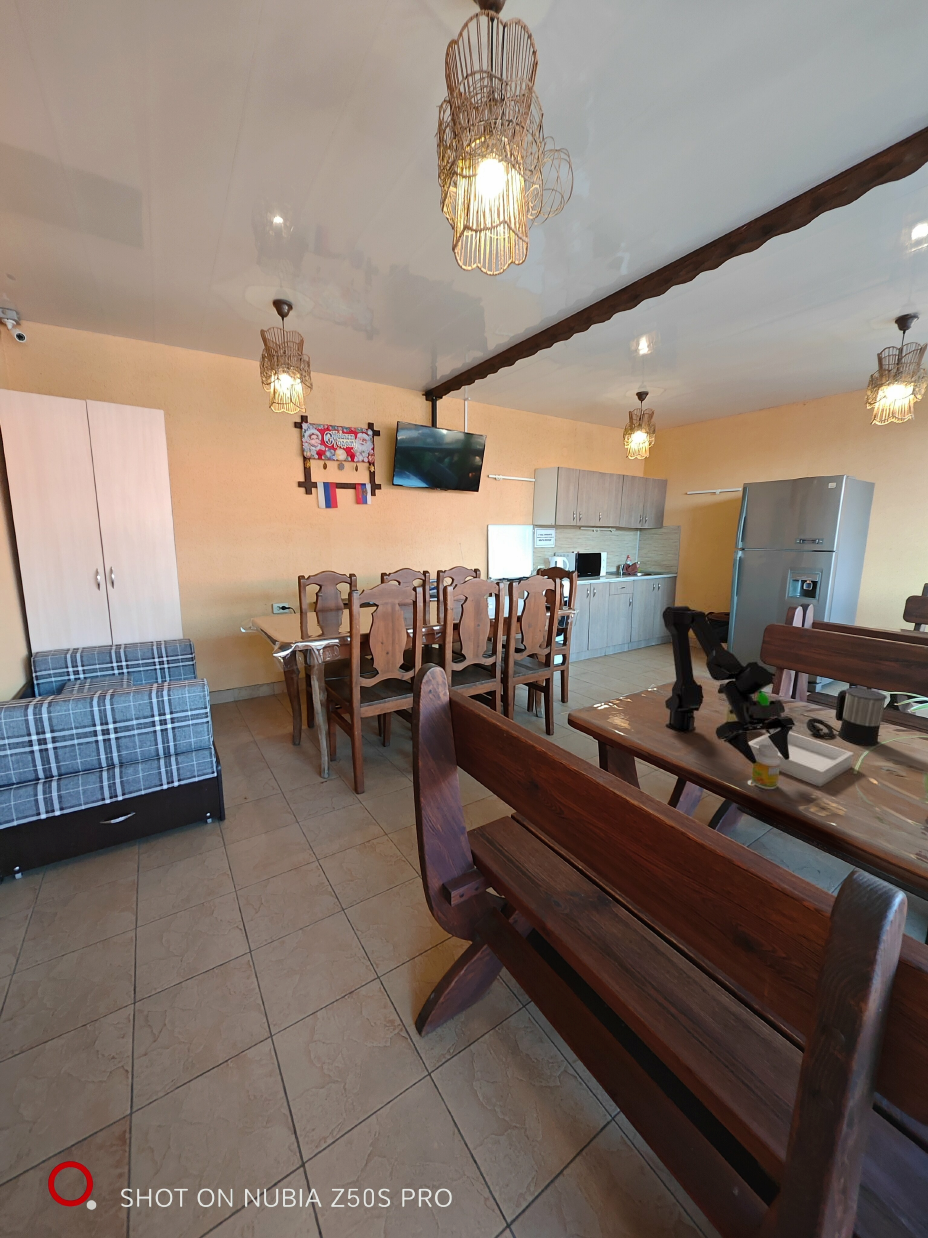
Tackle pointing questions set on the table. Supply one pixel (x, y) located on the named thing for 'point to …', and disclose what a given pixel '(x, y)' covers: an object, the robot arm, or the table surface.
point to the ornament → (763, 698)
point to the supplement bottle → (766, 767)
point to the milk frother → (855, 716)
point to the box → (809, 758)
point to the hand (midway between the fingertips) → (771, 761)
